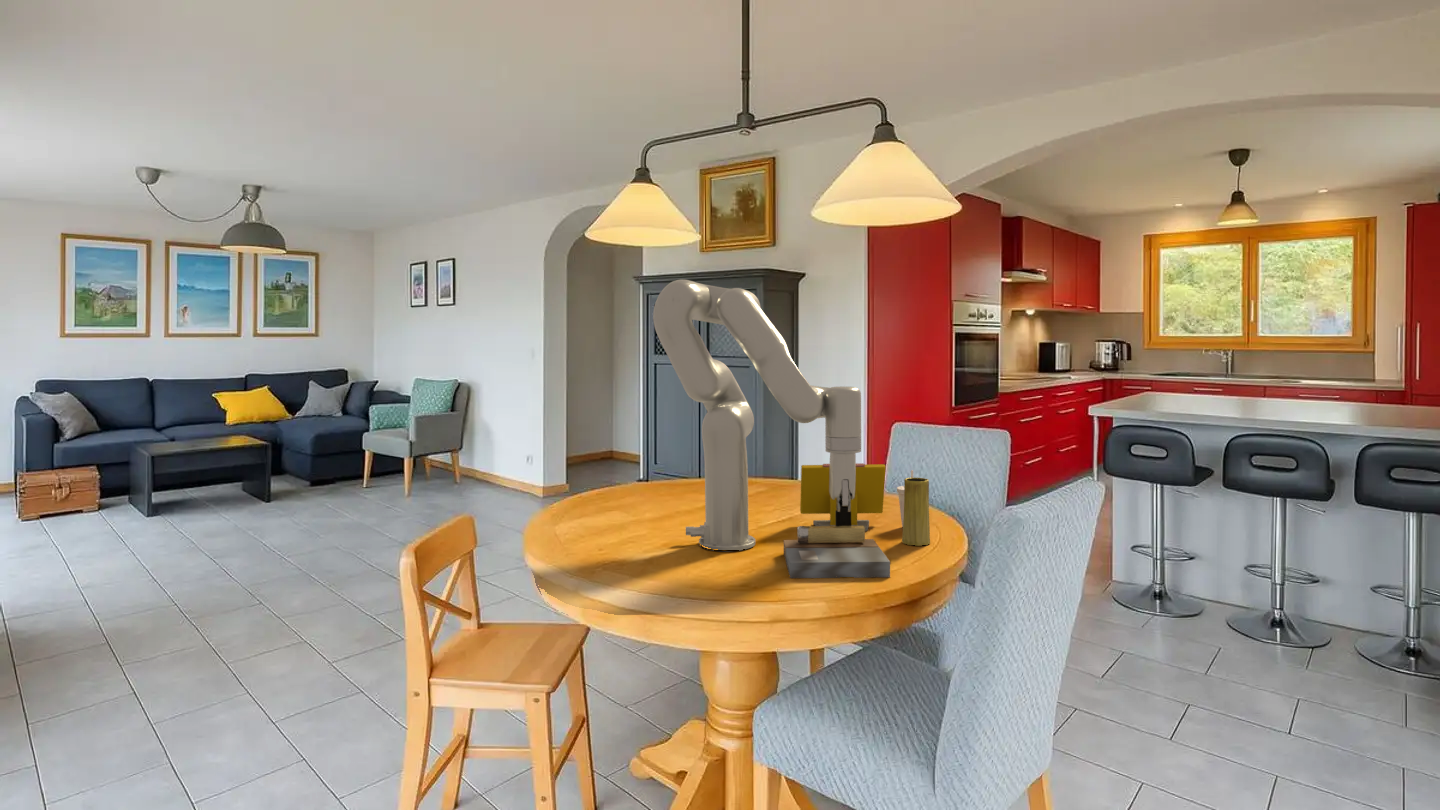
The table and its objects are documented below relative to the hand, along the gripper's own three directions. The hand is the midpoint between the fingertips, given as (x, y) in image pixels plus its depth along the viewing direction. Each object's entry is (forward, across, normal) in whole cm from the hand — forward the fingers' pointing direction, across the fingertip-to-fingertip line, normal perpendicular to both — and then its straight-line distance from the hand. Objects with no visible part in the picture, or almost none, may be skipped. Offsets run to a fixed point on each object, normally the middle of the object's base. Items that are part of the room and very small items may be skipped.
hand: (843, 529), depth 166 cm
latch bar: (+1, +6, -3) cm, 7 cm away
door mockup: (+5, +12, -3) cm, 13 cm away
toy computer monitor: (+5, -21, +2) cm, 21 cm away
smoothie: (+5, -21, +18) cm, 28 cm away
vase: (+5, -6, +17) cm, 18 cm away
